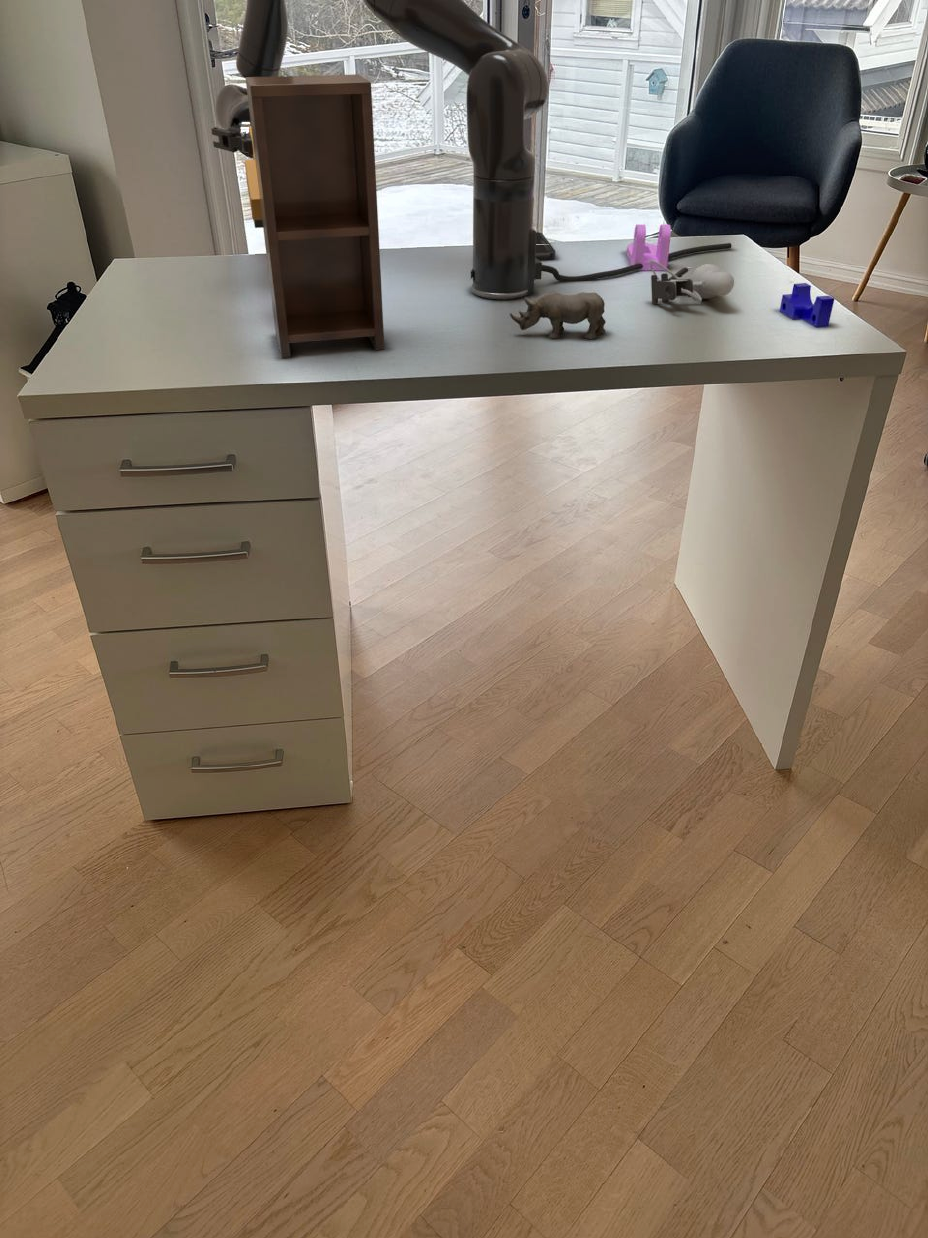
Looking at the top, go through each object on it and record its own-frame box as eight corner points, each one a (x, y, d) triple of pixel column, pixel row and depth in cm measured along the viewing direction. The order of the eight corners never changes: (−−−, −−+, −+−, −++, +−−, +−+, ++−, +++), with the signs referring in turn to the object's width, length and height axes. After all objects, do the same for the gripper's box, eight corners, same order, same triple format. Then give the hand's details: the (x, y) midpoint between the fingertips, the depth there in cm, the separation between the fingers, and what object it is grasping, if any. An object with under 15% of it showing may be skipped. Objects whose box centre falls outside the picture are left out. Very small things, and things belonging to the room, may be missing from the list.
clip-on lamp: (633, 301, 155) (665, 310, 138) (632, 261, 152) (664, 265, 136) (702, 292, 155) (742, 300, 139) (702, 251, 153) (742, 254, 136)
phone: (512, 253, 164) (501, 232, 176) (512, 260, 164) (500, 239, 177) (556, 252, 164) (542, 231, 177) (556, 259, 165) (541, 237, 177)
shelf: (373, 328, 135) (359, 73, 116) (384, 349, 128) (371, 81, 109) (276, 336, 132) (245, 76, 113) (281, 358, 125) (250, 85, 106)
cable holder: (779, 311, 142) (784, 284, 139) (800, 309, 142) (805, 282, 140) (806, 327, 135) (812, 300, 133) (828, 326, 136) (834, 298, 134)
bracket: (666, 270, 160) (671, 227, 156) (633, 270, 160) (638, 227, 156) (655, 250, 170) (659, 209, 166) (624, 250, 170) (628, 209, 166)
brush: (276, 139, 137) (275, 108, 133) (292, 226, 130) (291, 197, 126) (239, 140, 136) (236, 109, 132) (253, 228, 129) (250, 199, 125)
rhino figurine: (508, 329, 134) (509, 287, 131) (603, 330, 134) (607, 287, 131) (509, 339, 131) (510, 296, 128) (607, 339, 131) (611, 296, 127)
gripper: (204, 101, 142) (206, 118, 128) (295, 99, 145) (307, 115, 131) (211, 155, 146) (215, 177, 133) (300, 152, 149) (312, 173, 136)
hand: (261, 146), depth 132 cm, fingers closed on brush, 2 cm apart
